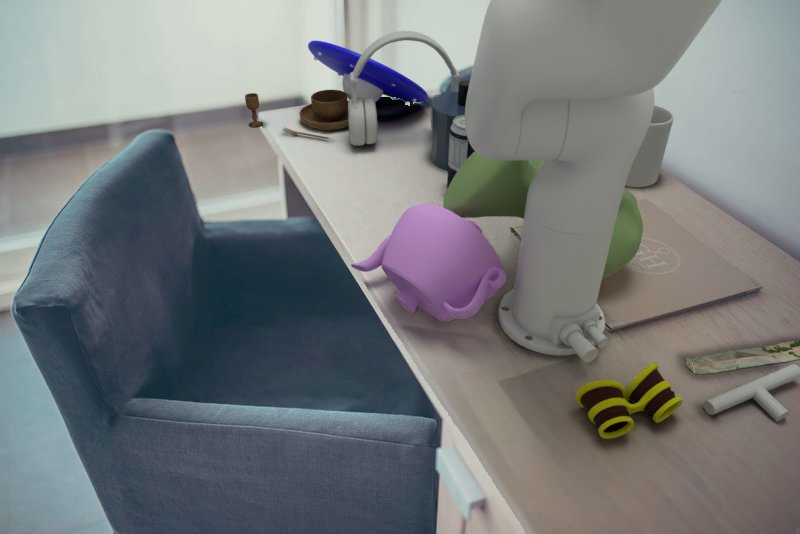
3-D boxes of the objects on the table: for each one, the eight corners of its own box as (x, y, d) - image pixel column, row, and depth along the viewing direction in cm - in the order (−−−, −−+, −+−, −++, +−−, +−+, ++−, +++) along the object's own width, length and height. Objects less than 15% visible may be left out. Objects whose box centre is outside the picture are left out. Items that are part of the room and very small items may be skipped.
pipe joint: (701, 406, 67) (733, 441, 64) (706, 398, 66) (739, 433, 63) (787, 370, 70) (822, 401, 67) (793, 361, 69) (828, 392, 66)
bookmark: (681, 360, 73) (682, 357, 72) (844, 334, 76) (846, 331, 76) (694, 377, 70) (696, 374, 70) (862, 350, 74) (864, 346, 73)
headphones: (351, 154, 113) (346, 43, 102) (348, 134, 120) (343, 28, 109) (462, 148, 115) (469, 38, 104) (453, 128, 122) (459, 24, 111)
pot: (501, 165, 110) (506, 113, 105) (446, 176, 107) (449, 123, 102) (473, 141, 118) (477, 91, 112) (421, 150, 115) (423, 99, 109)
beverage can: (480, 202, 100) (486, 130, 93) (444, 198, 101) (447, 127, 94) (483, 184, 105) (490, 115, 98) (449, 181, 106) (453, 112, 99)
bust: (450, 144, 87) (584, 239, 94) (429, 222, 77) (581, 321, 84) (521, 75, 77) (664, 187, 84) (507, 154, 67) (670, 274, 74)
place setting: (339, 142, 117) (336, 111, 113) (244, 128, 123) (239, 98, 119) (375, 107, 130) (374, 79, 127) (288, 96, 136) (285, 68, 133)
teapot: (502, 222, 67) (429, 306, 65) (538, 292, 76) (475, 368, 74) (385, 171, 81) (322, 239, 78) (428, 235, 90) (373, 297, 88)
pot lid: (509, 117, 105) (511, 90, 102) (447, 127, 102) (449, 99, 99) (478, 93, 113) (480, 68, 110) (420, 102, 110) (421, 76, 107)
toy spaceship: (288, 36, 127) (275, 70, 128) (350, 43, 108) (334, 83, 108) (384, 89, 142) (372, 118, 143) (452, 103, 123) (438, 137, 124)
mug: (639, 161, 112) (654, 100, 105) (667, 184, 105) (685, 121, 99) (576, 169, 109) (588, 107, 103) (601, 193, 103) (615, 129, 96)
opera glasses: (596, 449, 63) (612, 424, 60) (568, 405, 67) (581, 378, 63) (675, 421, 66) (694, 395, 63) (644, 380, 70) (661, 353, 66)
